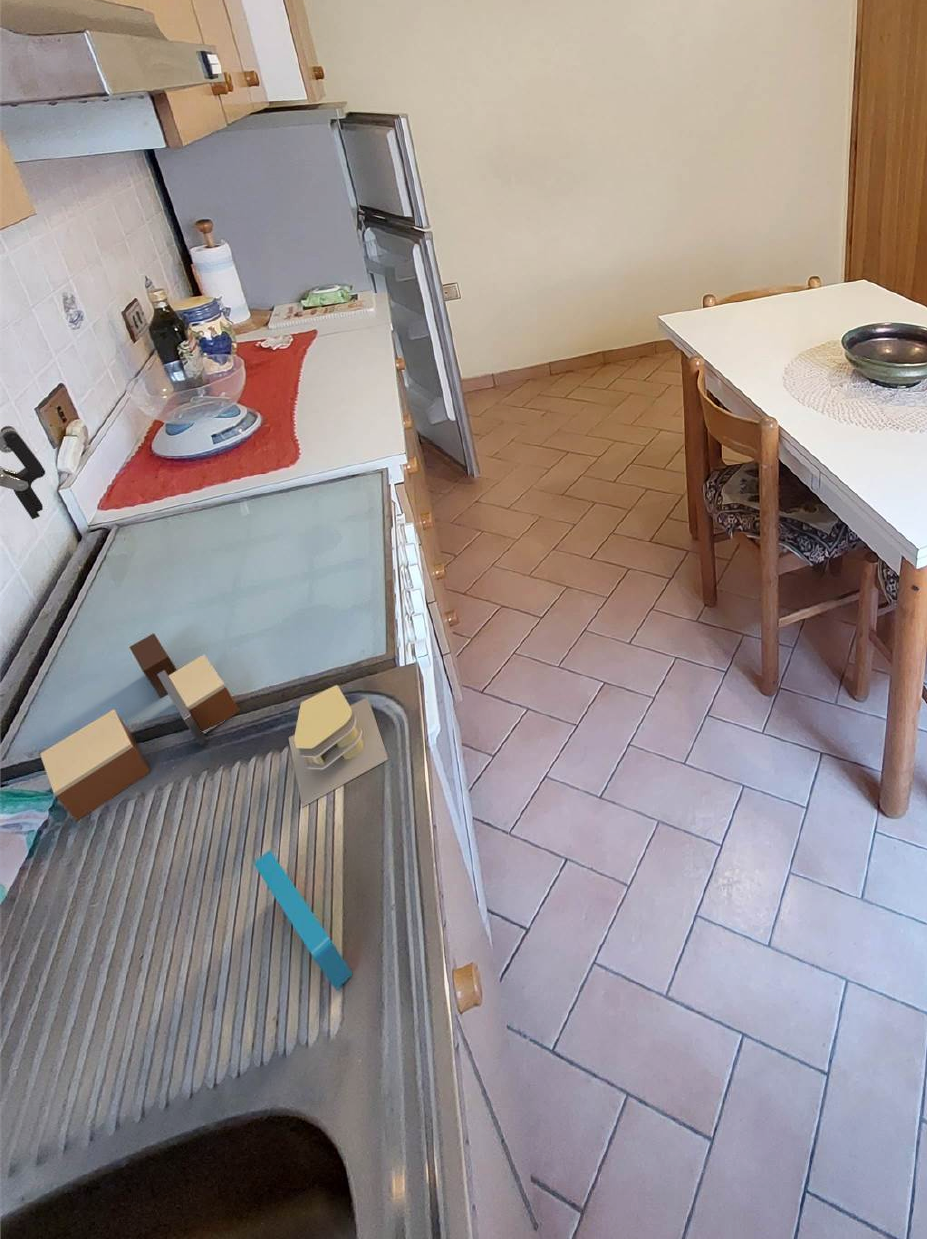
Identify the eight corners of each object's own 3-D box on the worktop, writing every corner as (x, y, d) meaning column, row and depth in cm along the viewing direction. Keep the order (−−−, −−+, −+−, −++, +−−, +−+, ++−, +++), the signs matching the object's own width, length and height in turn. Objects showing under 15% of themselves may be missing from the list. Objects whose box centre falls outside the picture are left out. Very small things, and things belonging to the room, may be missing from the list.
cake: (77, 820, 77) (53, 792, 74) (62, 781, 81) (39, 753, 78) (150, 771, 81) (130, 743, 79) (133, 736, 85) (113, 708, 83)
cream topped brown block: (204, 734, 85) (186, 707, 82) (185, 702, 89) (167, 675, 86) (240, 711, 87) (224, 683, 85) (219, 681, 91) (203, 653, 89)
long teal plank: (276, 896, 68) (252, 860, 65) (291, 883, 69) (268, 847, 66) (337, 992, 61) (313, 957, 58) (354, 975, 62) (330, 940, 59)
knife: (192, 754, 82) (173, 726, 80) (146, 673, 94) (129, 646, 91) (218, 736, 84) (200, 708, 82) (170, 659, 95) (153, 632, 93)
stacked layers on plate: (288, 737, 83) (271, 706, 81) (368, 696, 87) (354, 665, 85) (302, 807, 76) (283, 775, 73) (388, 759, 80) (374, 727, 77)
